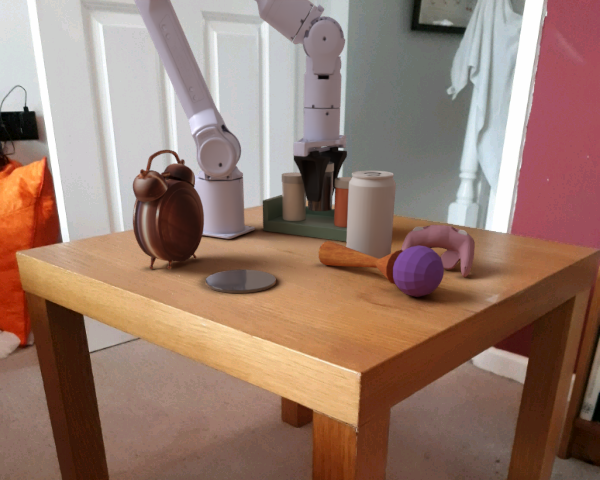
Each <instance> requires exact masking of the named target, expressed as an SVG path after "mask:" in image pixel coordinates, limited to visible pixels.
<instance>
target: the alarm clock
mask: <svg viewBox="0 0 600 480" xmlns="http://www.w3.org/2000/svg"><path fill="white" fill-rule="evenodd" d="M163 154H171V155H173V156H174V158H175V161H176V162H177V163H176V162H175V163H171V164H169V165H167V166H166V167H165V169H164V171H162V172H161V173H160V172H159V171H156V170H151V167H152V163H153V161H154V159H156V157H158V156H161V155H163ZM147 159H148V160H147V164H146V168H145V169H144V168H141V169H140V171H139V173H138V174H137V175H136V176H135V178H134V179H133V181H132V190H133V194H134V197H135V202H134V205H133V211H132V229H133V233H134V234H133V235H134V238H135V241H136V242H137V245H138V247H139V248H140V249H141V251H142V252H143V253H144V254H145V255H146V256H148V257H150V265H149V269H150V270H153V269H154V264H155V262H156V260H160V261H164V262H167V263H168V265H167V269H169V270H170V269H172V262H179V263H181V262H185V261H187V260H189V259H191V258H193V259H197V255H196V254H195V253H196V252H197V250H198V249H199V246H200V244H201V241H202V237H203V235H202V234H203V228H204V212H203V206H202V202H201V199H200V196H199V194H198V192H197V191H196V190H195V188H194V187H195V175H196V174H195V173H194V171H193V170H192V169H191V168H190V167H189V166H187V165H185V163H186V162H185V159H183V158H182V159H180V157H179V155H178V153H177V152H176V151H174V150H171V149H160V150H158V151H155V152H154V153H153V154H151V155H149V157H148V158H147Z"/></svg>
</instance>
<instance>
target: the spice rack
mask: <svg viewBox="0 0 600 480" xmlns="http://www.w3.org/2000/svg"><path fill="white" fill-rule="evenodd" d="M262 231H264V232H271V233H278V234H286V235H293V236H301V237H309V238H317V239H324V240H329V241H340V242H344V243H345V242H346V243H347V228H344V227H337V226H335V225H334V208H332V210H329V211H312V210H309V209H308V205H306V219H305V220H302V221H287V220H284V219H283V218H282V194H279V195H276V196H273V197H269V198H266V199H263V200H262Z"/></svg>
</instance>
